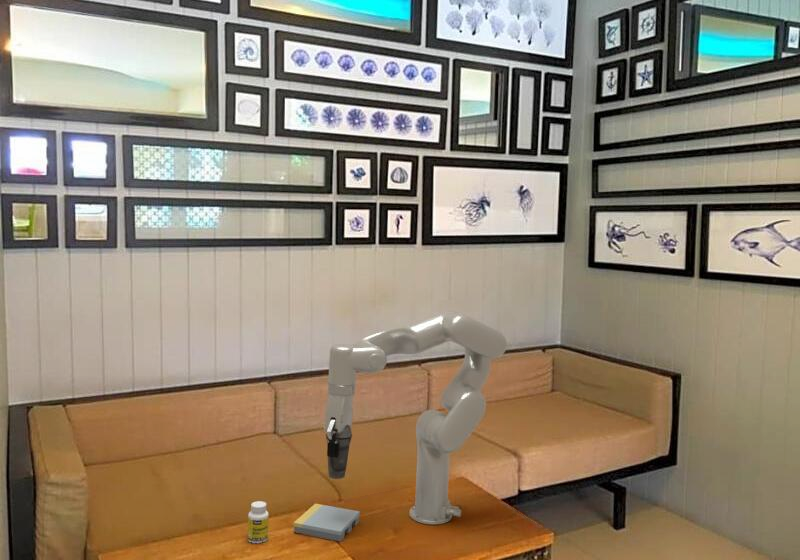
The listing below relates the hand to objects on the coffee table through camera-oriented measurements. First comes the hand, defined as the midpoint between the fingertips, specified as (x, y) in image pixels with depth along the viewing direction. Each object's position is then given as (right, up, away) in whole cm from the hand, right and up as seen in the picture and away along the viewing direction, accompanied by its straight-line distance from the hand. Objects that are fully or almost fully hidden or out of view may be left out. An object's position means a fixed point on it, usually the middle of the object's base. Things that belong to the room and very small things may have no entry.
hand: (337, 452), depth 185 cm
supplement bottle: (-21, -22, -6) cm, 31 cm away
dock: (-3, -22, +3) cm, 22 cm away
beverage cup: (0, -7, 0) cm, 7 cm away
